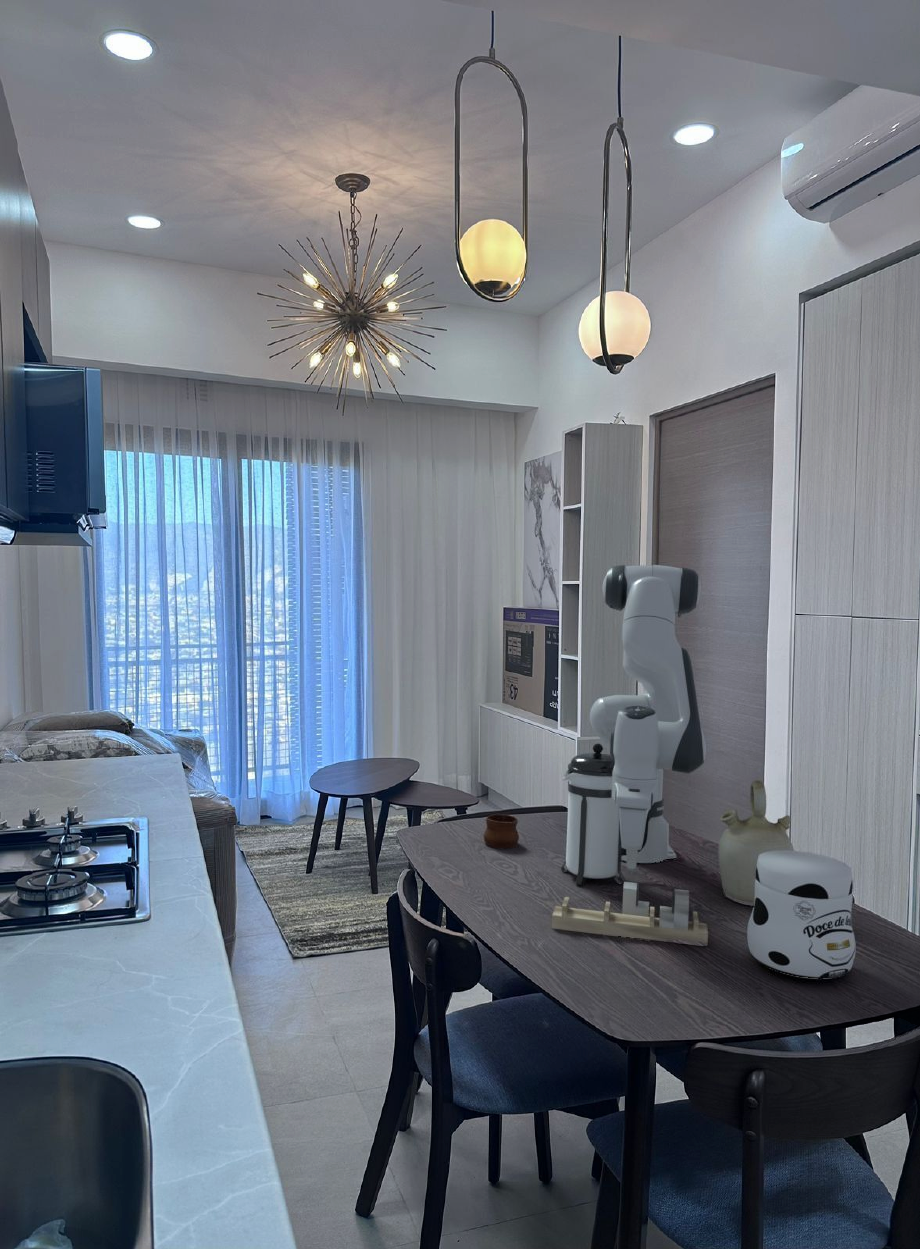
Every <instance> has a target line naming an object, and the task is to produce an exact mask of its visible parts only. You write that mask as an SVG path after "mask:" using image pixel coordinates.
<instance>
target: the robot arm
mask: <svg viewBox="0 0 920 1249" xmlns="http://www.w3.org/2000/svg"><path fill="white" fill-rule="evenodd" d="M601 589H602V590H601V591H602V596H603V598H604V602H605V604H606V606H608V607H609V608H610V609H613V610H616V611H618V612H619V611H621V612H622V611H623V617H622V618H623V619H622V629H621V630H622V632H621V638H622V647H623V655H622V656H623V657H622V667H623V669H624V672H625V673H626V674H627V675H628V676H629V677H630V678H631V679H634V680H635V681H637V682H639V683H641V685H642V688H643V689H642V690H643V694H641V695H639V694H638V695H637V694H633V695H632V694H615V695H610V696H605V697H604V696H603V697H600V698H598V699H596V700H595V701H594V703H593V704H592V706H591V708H590V712H589V723H590V725H591V726H590V727H591V729H592V730H593V732H594V734H595V735H596V736H597V737H598V738H600V739H601V740H602V741H603V742H604V743H605V744H606V745H607V747H608V748H609V755H612V757H613V758H614V759H615V765H614V769H613V772H612V798H613V799H614V800H615V802H616V806H617V807H618V808H619V818H620V833H621V843H622V845H621V847H623V848H624V849H626V854H627V855H625V856H622V859H621V861H624V862H626V868H627V869H629V870H635V869H636V868H637V863H638V864H639V863H640V864H652V863H654V864H655V862H656V863H660V861H661V862H664V861H663V860H664V859H668V858H669V859H670V858H676V859H677V854H676V853H675V851H674V849H673V848H672V847H671V846H670V844H669V842H670V838H669V837H670V824H669V823H668V821H667V820H666V819H665V817H664V811H665V810H664V808H665V803H664V802H665V800H664V799H663V784H664V770H667V771H668V770H669V771H672V772H677V773H678V772H679V773H682V774H683V773H684V774H688V775H689V774H691V773H692V772H695V771H696V770H697V769H699V768H700V767H701V766H702V765H703V764H704V763H705V762H704V761H705V759H706V756H707V743H706V737H705V734H704V730H703V729H702V726H701V721H700V711H699V704H698V696H697V689H696V682H695V676H694V672H693V666H692V661H691V660H692V659H691V657H690V654H689V652H688V650H687V649H686V648H683V647H681V645H680V643H679V641H678V639H677V637H676V631H675V630H676V614H677V617H678V618H681V617H682V615H686V614H689V613H691V612H692V611H693V610H695V609H696V608H697V605H698V604H699V602H700V599H701V596H702V584H701V580H700V578H699V574H698V573H697V572H696V571H695V570H694V569H691V568H688V567H683V566H681V568H680V567H674V566H669V565H668V566H667V565H659V564H652V565H647V564H646V565H644V564H643V565H626V566H625V564H622V565H614V566H612V567H610V568H609V569H608V570H607V572H606V575H605V576H604V578H603V582H602V587H601ZM648 811H649V819H648V835H647V841H646V844H645V846H644V847H643V849H642V850H641V848H642V844H643V839H644V832H645V826H646V819H647V814H648ZM638 850H641V851H640V852H638Z"/></svg>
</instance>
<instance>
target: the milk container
mask: <svg viewBox="0 0 920 1249" xmlns="http://www.w3.org/2000/svg"><path fill="white" fill-rule="evenodd" d="M853 883H854V880H853V872H852V867H851V866H849V865H848V864H847V863H845V862H843V861H841V860H839V859H836V858H834V857H830V856H827V855H824V854H818V853H813V852H809V851H808V852H807V851H801V850H800V851H797V850H794V851H790V850H775V851H768V852H764V853H762V854H760V855H759V857H758V861H757V867H756V879H755V900H754V907H753V908H752V911H751V914H750V917H749V920H748V923H747V927H746V928H747V930H746V931H747V932H746V937H747V938H746V939H747V944H748V949H749V952H750V954H751V956H752V957H753V958H754V959H755V960H756V961H757V963H759V962H760V963H759V964H761V965H762V964H763V966H764V965H765V966H766V967H765V966H764V967H765V968H767V967H768V968H771V969H773V970H776V971H778V972H782V973H785V974H789V975H793V976H799V977H808V978H818V979H823V978H834V979H836V978H835V977H839V976H842V977H844V976H845V975H847V974H848V973H849V972H850V971H851V969H852V968H853V964H854V961H855V957H856V950H857V946H856V945H857V944H856V939H855V934H854V930H853V924H852V909H853V898H854V897H853V887H854V884H853ZM768 968H767V969H768ZM771 969H770V970H771ZM773 970H772V971H773ZM776 971H775V972H776ZM778 972H777V973H778ZM839 978H840V977H839Z"/></svg>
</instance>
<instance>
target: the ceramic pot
mask: <svg viewBox="0 0 920 1249" xmlns="http://www.w3.org/2000/svg"><path fill="white" fill-rule="evenodd" d="M485 822H486V823H485V824H486V828H485V831H484V834H483V839H484V842H485V844H487V845H486V846H488V847H491V848H493V847H495V848H494V849H510V848H511V847H512V848H515V847H517V846H518V843H519V839H520V835H519V832H518V830H517V825H518V822H519V820H518V818H517V817H515V816H514V815H509V814H505V813H504V814H501V813H500V814H498V813H497V814H496V813H493V814H491V815H488V816H487V817H486V818H485ZM512 848H511V849H512Z"/></svg>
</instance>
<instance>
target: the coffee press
mask: <svg viewBox="0 0 920 1249" xmlns="http://www.w3.org/2000/svg"><path fill="white" fill-rule="evenodd" d="M603 750H604V747H603V745H602V744H601V743H595V744H593V746H592V751H593V752H584V753H579V754H577V755H575V756H574V757H572V758H571V760H570V763H568V764H567V769H566V771H565V773H564V774H563V777H562V780H563V781H567V791H568V799H567V800H568V801H567V802H568V803H567V824H566V825H567V828H566V829H567V830H566V848H565V850H566V851H565V852H566V853H565V861H564V863H563V864H562V866H561V867H560V870H561V871H562V873H567V872H570V873H572V874H573V875H576V879H575V885H576V886H579V887H583V886H584V885H585V882H586V880H587V879H597V880H598V879H608V878H609V879H610V878H612V879H613V880H614V881H615V883H616V884H617V883H618V884H617V885H619V883H622V884H621V885H624V882H626V879H625V876H624V875H623V873H622V867H621V863H622V862H621V861H622V860H621V859H622V856H625V855H627V854H626V849H624V848H623V847H621V845H622V843H621V833H620V818H619V808H618V807H617V806H616V802H615V800H614V799H613V798H612V772H613V769H614V765H615V759H614V758H613V757H612V755H611V754H608V753H602V752H603ZM648 819H649V811H648V814H647V819H646V826H645V832H644V839H643V844H642V848H641V850H642V849H643V847H644V846H645V844H646V841H647V835H648ZM641 850H638V852H640V851H641ZM565 866H566V868H567V870H566V869H565ZM616 875H618V876H619V878H620V879H621V881H620V880H619V878H618V877H617V876H616Z"/></svg>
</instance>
